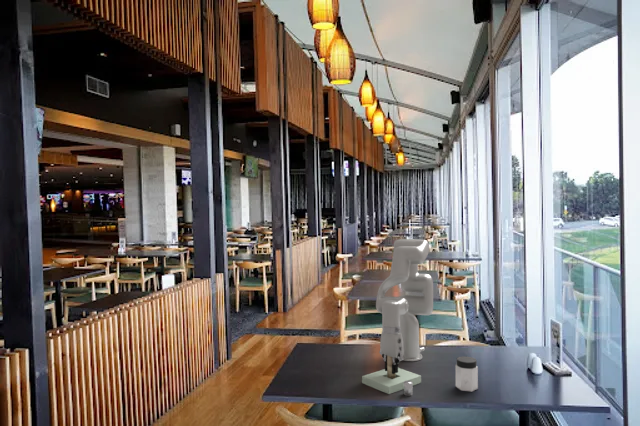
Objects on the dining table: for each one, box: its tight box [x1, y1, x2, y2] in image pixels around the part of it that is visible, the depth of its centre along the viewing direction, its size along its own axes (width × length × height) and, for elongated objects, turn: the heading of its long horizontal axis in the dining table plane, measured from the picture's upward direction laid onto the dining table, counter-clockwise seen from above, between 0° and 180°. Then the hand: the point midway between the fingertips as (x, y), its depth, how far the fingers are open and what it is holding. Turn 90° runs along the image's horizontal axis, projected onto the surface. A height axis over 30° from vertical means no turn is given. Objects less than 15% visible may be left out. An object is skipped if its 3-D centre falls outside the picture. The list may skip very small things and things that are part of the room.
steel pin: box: [403, 381, 414, 397], centre depth 196 cm, size 4×4×5 cm
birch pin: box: [387, 356, 395, 379], centre depth 209 cm, size 4×4×12 cm
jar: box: [454, 355, 479, 392], centre depth 202 cm, size 9×8×12 cm
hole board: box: [361, 367, 422, 395], centre depth 209 cm, size 20×16×3 cm
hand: (391, 371), depth 209 cm, fingers closed on birch pin, 3 cm apart
